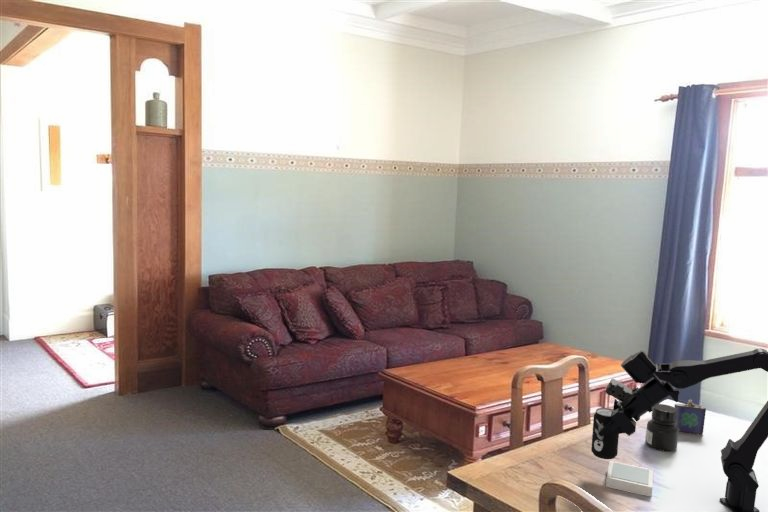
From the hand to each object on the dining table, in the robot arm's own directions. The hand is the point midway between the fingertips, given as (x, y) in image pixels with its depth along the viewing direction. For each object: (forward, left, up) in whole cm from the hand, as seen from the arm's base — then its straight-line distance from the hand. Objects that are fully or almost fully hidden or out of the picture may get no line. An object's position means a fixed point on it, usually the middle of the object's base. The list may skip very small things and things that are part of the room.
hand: (600, 429), depth 170 cm
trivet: (-4, -7, -13) cm, 15 cm away
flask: (+27, -44, -13) cm, 54 cm away
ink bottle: (+17, -29, -13) cm, 36 cm away
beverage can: (-1, -1, -7) cm, 7 cm away
